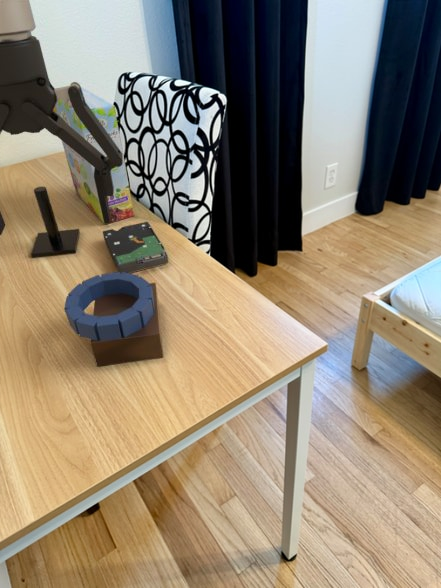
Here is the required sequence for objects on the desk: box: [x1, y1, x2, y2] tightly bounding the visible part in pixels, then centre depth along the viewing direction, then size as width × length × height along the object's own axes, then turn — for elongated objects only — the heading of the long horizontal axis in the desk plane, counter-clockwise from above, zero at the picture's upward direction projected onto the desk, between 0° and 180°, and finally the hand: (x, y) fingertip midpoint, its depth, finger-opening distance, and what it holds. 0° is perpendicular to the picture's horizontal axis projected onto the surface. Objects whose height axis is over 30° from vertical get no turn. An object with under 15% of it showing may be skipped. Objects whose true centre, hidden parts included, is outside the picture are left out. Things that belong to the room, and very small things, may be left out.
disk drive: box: [102, 221, 169, 274], centre depth 89 cm, size 10×3×15 cm
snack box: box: [53, 86, 136, 225], centre depth 101 cm, size 22×9×26 cm, turn 33°
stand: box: [89, 282, 164, 367], centre depth 69 cm, size 10×13×5 cm
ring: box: [63, 271, 155, 341], centre depth 66 cm, size 13×13×3 cm
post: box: [30, 186, 81, 259], centre depth 90 cm, size 9×9×13 cm
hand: (54, 224), depth 56 cm, fingers open, 13 cm apart
